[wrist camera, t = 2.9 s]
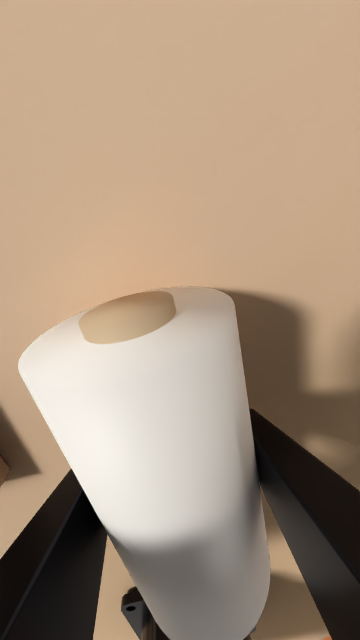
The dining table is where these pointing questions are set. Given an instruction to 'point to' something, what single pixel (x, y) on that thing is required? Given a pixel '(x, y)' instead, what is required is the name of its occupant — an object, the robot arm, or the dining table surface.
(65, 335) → the roll
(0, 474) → the cradle
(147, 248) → the dining table surface
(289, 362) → the dining table surface
